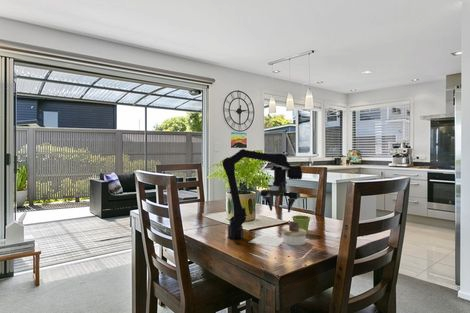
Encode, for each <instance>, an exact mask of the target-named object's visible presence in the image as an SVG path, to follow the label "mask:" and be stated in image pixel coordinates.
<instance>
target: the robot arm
mask: <svg viewBox="0 0 470 313" xmlns="http://www.w3.org/2000/svg"><path fill="white" fill-rule="evenodd" d="M244 158H247V159H253V160H258V161H264V162H268V163H271V164H273V165H272V166H271V167H270V171H273V181H272V186H270V187H269V189H262V190H260V191H259V192H260V193H259V194H260V195H259V196H261V197H262V198H263V199H265V201H266V202H267V205H268V208H269V210H270V211H269V212H272V211H273V197H288V198H287V201H288V206H287V213H290V212H291V210H292V207H293V205H294V203H295V201H296V200H298V199H299V198H301V192H300V191H295V190H294V191H293V190H292V191H289V192H287V191H288V190H287V184H288V181H287V178H288V180H302V179H303V171H302V166H301V165H290V163H289V162H288V157H287V156H286V154H284V153H265V152H259V151H258V152H257V151H254V150H247V149H245V148H242V149H239V151H238V152H236V153H234V154H233V155H232V156H230V157H225V158H224V159H223V160H222V168H223V169H224V172H225V174H226V177H227V181H228V186H229V191H230V194H231V195H230V196H231V201H232V208H233V210H232V211H233V213H232V214H233V215H232V217H231V218H230V219H229V225H228V228H227V230H228V231H227V232H228V237H227V239H230V240H235V241H239V240H241V239H243V238H244V228H243V224H244V223H245V222H246V219H247V217H248V215H247V213H246V207H245V206H244V205H242V204H241V200H240V199H241V198H240V195H239V190H238V183H237V180H236V166H235V165H236V164H237V163H239V162H240V161H241V160H242V159H244ZM275 165H276V166H275Z"/></svg>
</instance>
